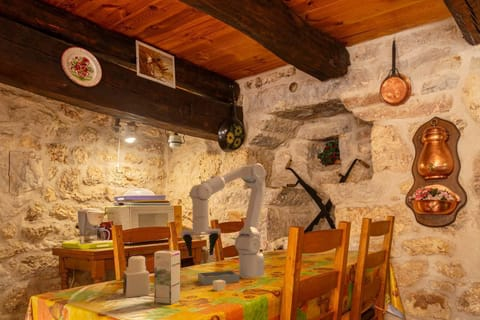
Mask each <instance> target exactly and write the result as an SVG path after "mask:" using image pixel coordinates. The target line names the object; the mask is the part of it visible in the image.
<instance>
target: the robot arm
mask: <svg viewBox="0 0 480 320" xmlns="http://www.w3.org/2000/svg"><path fill="white" fill-rule="evenodd" d="M266 173H267V172H266V170H265V167H264V166H263V165H262V164H261V163H259V162H257V163H254V164H253V163H252V164H247V165H245V164H244V165H241V166H239V167H237V168H234V169H233V170H230V171H229V172H227V173H225V174H222V176H220V175H218V174H216V175H215V174H213V175H210V178H208V179H207V180H202V181H201V182H200V184H194V185H193V186H192V187H191V189H190V191H189V197H190V199H191V203H192V229H180V230H179V233H180V235H179V236H180V237H182V239H183V241H184V243H185V246H186V248H187V253H188V257H193V249H192V247H193V245H192V243H193V237H192V236H207V235H208V243H209V249H208V250H209V251H208V252H209V256H213V255H214V249H215V246H216V243H217V241H218V239H219V235H221V233H222V232H221V228H209V199H210V198H211V196H213V195H214V194H216V193H218V192H220V191H222V190H224V189H225V186H226V185H227V184H229V183H230V182H233V181H235V180H237V179H240V180H242V181H243V182H244V183H245V184H247V186H249V187H250V190H251V191H250V195H249V200H248V204H247V210H246V213H245V214H246V215H245V220H244V224H243V227H242V228H241V229H240V230H239V232H238V235H237V237H236V238H235V239H234V240H235V241H234V247H235V249H236V250H237V253H238V274H239V278H242V279H247V278H258V277H265V276H266V275H265V258H264V254H263V253H262V252H259V251H260V249H261V247H262V243H261V233H260V232H259V230H258V228H259V223H260V220H261V219H260V218H261V213H262V208H263V203H264V199H265V198H264V197H265V194H266V193H265V192H266V175H267V174H266Z"/></svg>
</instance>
